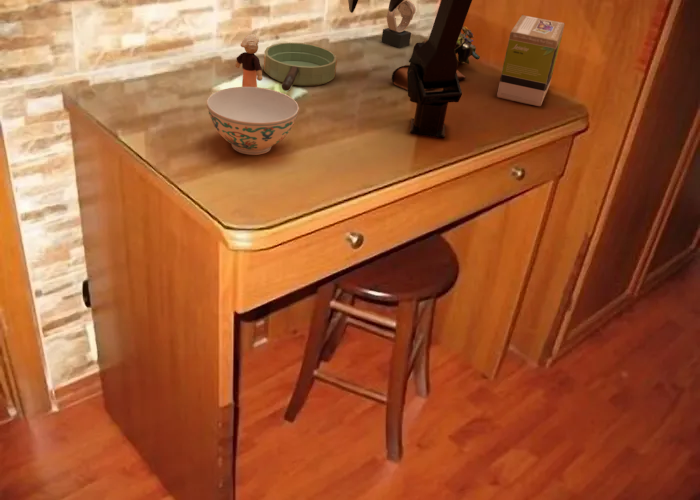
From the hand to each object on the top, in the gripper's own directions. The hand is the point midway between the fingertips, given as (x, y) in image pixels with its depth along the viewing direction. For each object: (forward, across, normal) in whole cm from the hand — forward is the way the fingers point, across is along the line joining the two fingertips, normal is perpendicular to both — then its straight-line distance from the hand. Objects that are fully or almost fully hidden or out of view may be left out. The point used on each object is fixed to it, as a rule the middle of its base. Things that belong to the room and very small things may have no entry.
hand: (370, 11), depth 151 cm
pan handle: (+9, +20, +10) cm, 24 cm away
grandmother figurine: (+12, +29, +11) cm, 33 cm away
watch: (+19, -19, -15) cm, 31 cm away
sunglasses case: (+12, -14, +9) cm, 21 cm away
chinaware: (+6, +35, +30) cm, 47 cm away
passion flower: (+15, -25, 0) cm, 29 cm away
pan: (+15, +13, 0) cm, 20 cm away
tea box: (+10, -33, +18) cm, 39 cm away
